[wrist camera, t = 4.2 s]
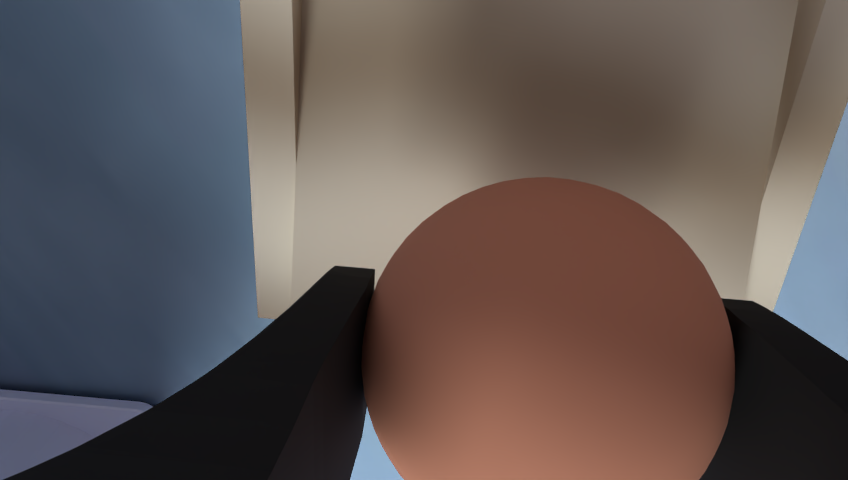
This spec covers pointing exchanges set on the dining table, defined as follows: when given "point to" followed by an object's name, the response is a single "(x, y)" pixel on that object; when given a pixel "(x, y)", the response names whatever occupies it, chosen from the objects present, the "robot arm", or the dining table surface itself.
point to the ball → (547, 342)
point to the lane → (537, 121)
